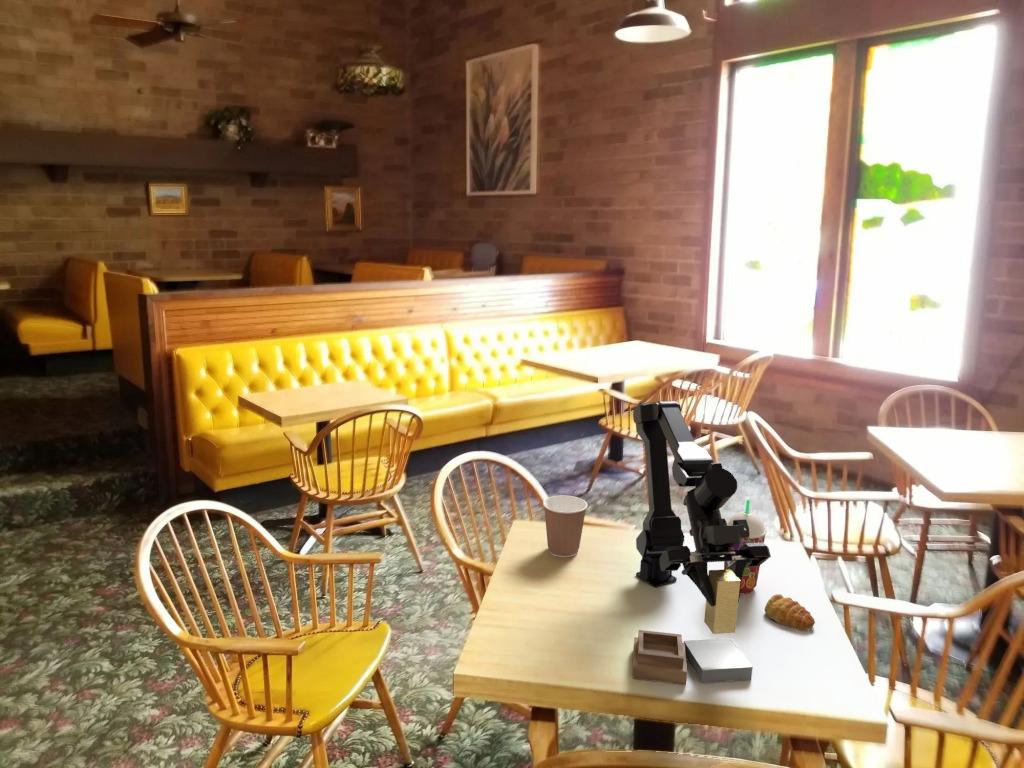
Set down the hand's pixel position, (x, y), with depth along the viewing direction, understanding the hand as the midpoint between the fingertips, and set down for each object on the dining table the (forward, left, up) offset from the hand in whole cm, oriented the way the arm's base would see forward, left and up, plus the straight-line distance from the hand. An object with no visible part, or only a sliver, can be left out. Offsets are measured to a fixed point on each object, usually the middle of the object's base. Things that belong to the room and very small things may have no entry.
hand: (725, 605), depth 131 cm
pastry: (-25, -6, -13) cm, 29 cm away
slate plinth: (-1, -1, -13) cm, 13 cm away
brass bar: (-1, -1, -5) cm, 5 cm away
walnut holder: (+8, -6, -13) cm, 16 cm away
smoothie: (-27, -19, -13) cm, 35 cm away
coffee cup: (-4, -52, -13) cm, 54 cm away
